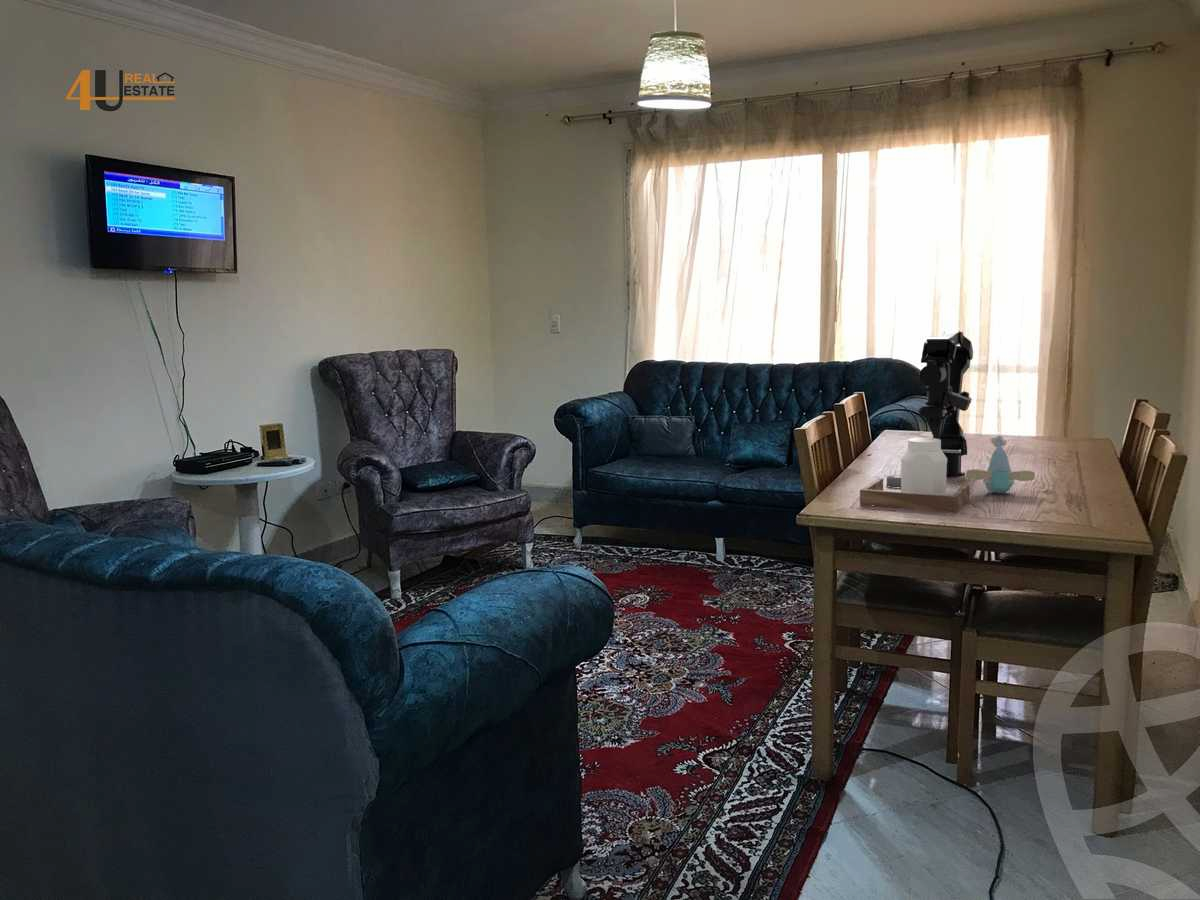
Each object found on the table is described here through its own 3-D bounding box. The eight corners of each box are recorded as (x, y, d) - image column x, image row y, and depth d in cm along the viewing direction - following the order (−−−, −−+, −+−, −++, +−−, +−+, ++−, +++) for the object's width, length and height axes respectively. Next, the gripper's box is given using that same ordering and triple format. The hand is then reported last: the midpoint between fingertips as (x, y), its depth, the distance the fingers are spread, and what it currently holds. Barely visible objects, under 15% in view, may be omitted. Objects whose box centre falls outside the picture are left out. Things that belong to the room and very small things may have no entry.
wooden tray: (878, 492, 258) (878, 478, 257) (969, 499, 245) (969, 483, 245) (859, 505, 243) (859, 489, 242) (955, 512, 230) (955, 496, 230)
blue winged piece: (1030, 490, 254) (1032, 434, 252) (1034, 497, 244) (1036, 440, 242) (964, 488, 260) (965, 434, 257) (965, 495, 250) (966, 439, 247)
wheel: (897, 483, 270) (897, 474, 269) (913, 486, 265) (913, 477, 264) (882, 485, 267) (882, 476, 267) (898, 488, 262) (898, 479, 261)
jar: (898, 498, 250) (899, 441, 248) (902, 491, 259) (903, 436, 256) (944, 500, 245) (946, 443, 243) (947, 493, 254) (948, 437, 252)
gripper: (962, 386, 249) (961, 445, 251) (975, 380, 264) (974, 436, 267) (918, 385, 255) (917, 443, 257) (934, 380, 270) (933, 434, 273)
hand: (937, 439), depth 263 cm, fingers closed
